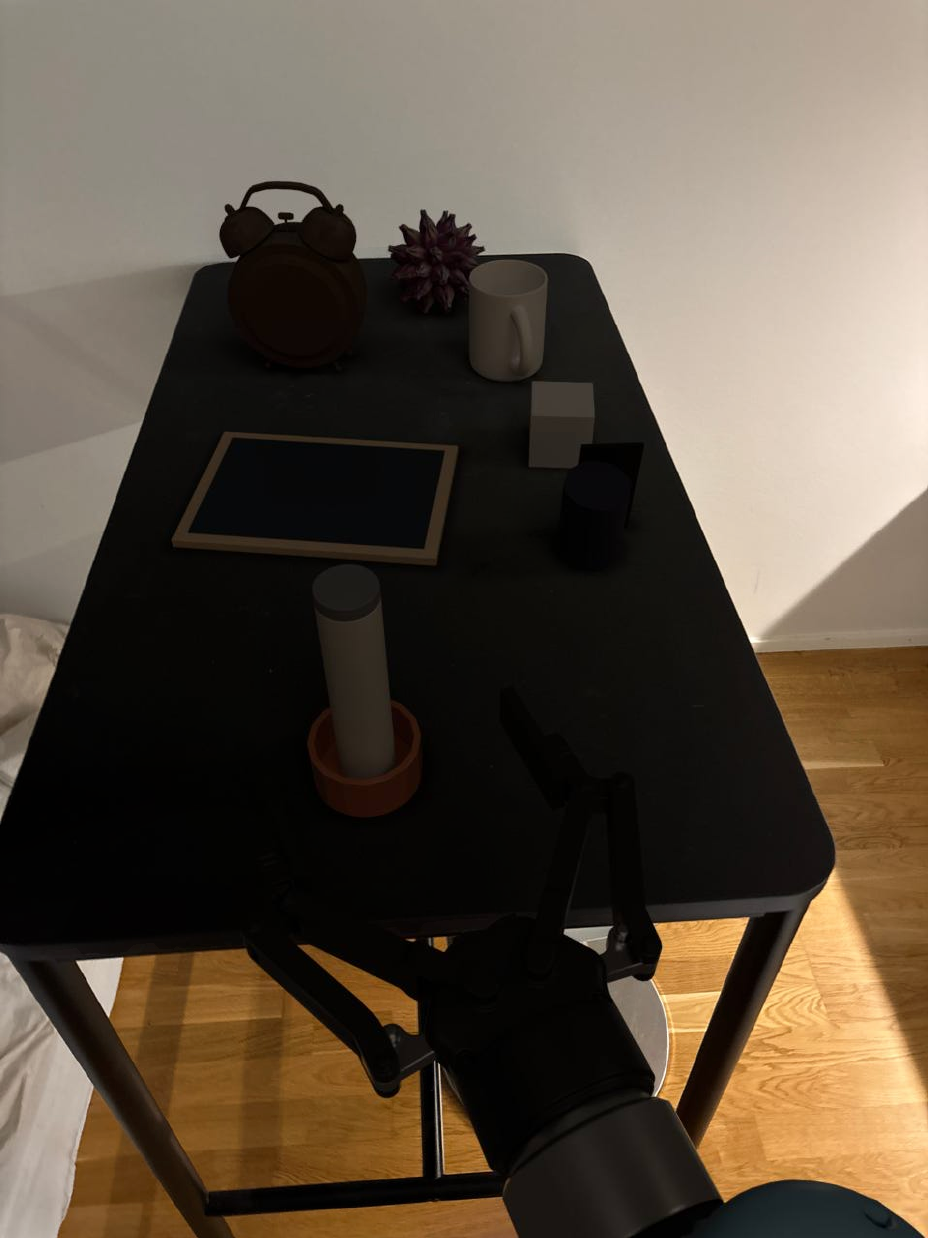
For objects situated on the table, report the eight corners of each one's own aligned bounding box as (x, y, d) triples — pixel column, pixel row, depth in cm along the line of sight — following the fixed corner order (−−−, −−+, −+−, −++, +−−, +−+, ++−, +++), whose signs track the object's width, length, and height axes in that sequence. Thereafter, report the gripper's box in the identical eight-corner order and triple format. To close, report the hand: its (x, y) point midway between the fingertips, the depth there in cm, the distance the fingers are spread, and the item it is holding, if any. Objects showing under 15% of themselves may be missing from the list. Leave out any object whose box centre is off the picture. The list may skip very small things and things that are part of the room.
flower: (396, 299, 124) (487, 274, 124) (404, 343, 116) (502, 316, 115) (370, 209, 116) (467, 182, 116) (377, 250, 108) (482, 220, 107)
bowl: (303, 812, 69) (296, 779, 66) (326, 725, 74) (321, 691, 71) (413, 823, 68) (411, 789, 65) (429, 734, 74) (427, 699, 71)
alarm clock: (376, 347, 113) (362, 169, 99) (365, 381, 108) (349, 198, 94) (252, 342, 114) (221, 164, 100) (236, 375, 109) (200, 193, 95)
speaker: (567, 510, 92) (579, 424, 83) (628, 525, 90) (646, 439, 82) (546, 568, 87) (556, 484, 79) (610, 584, 86) (627, 500, 78)
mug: (562, 396, 106) (568, 307, 98) (487, 407, 104) (488, 317, 97) (531, 341, 114) (535, 255, 106) (461, 349, 112) (461, 263, 105)
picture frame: (173, 547, 89) (170, 539, 88) (225, 438, 100) (224, 430, 100) (436, 566, 87) (436, 557, 86) (458, 452, 99) (458, 444, 98)
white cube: (528, 467, 97) (530, 415, 93) (529, 432, 101) (531, 381, 97) (589, 468, 96) (594, 417, 92) (588, 433, 101) (593, 382, 96)
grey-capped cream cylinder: (335, 788, 69) (304, 607, 57) (346, 743, 72) (319, 561, 59) (391, 793, 69) (373, 612, 56) (400, 747, 72) (384, 565, 59)
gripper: (289, 1308, 38) (173, 864, 52) (813, 1045, 45) (589, 714, 59) (259, 1263, 33) (139, 780, 46) (860, 972, 40) (602, 627, 53)
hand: (390, 743), depth 53 cm, fingers open, 13 cm apart
